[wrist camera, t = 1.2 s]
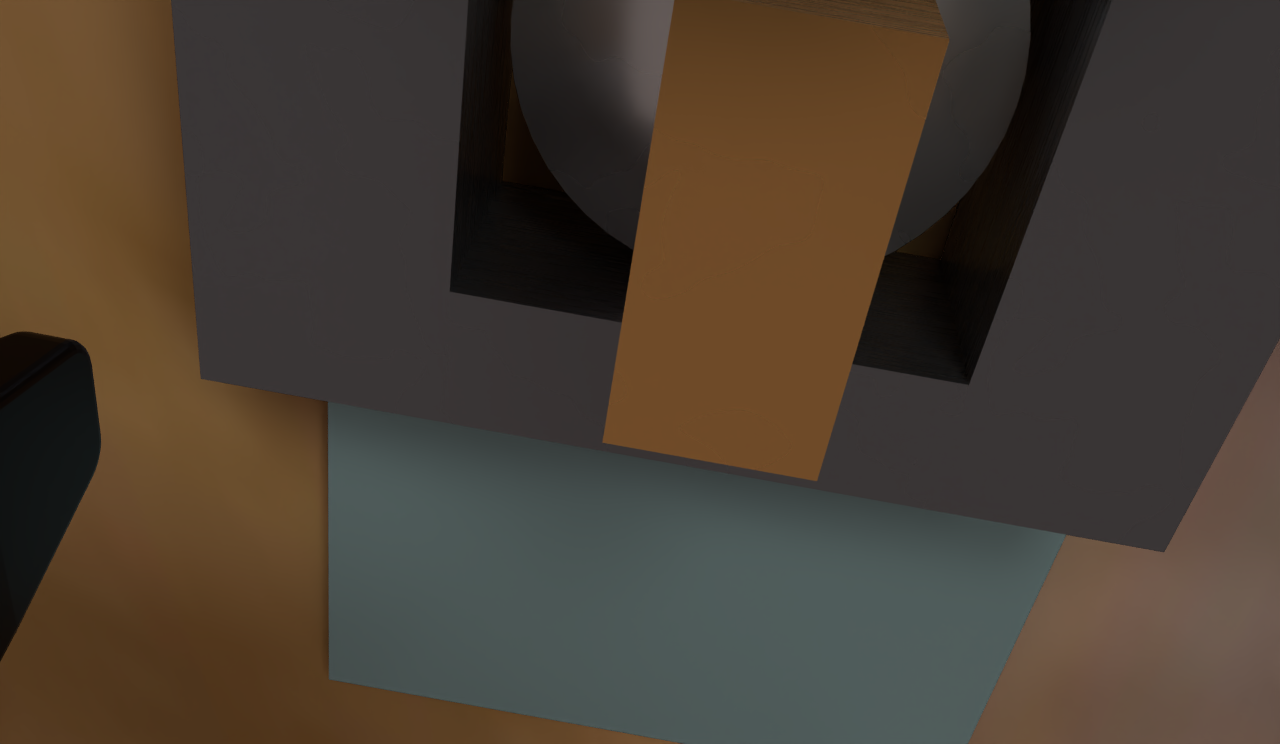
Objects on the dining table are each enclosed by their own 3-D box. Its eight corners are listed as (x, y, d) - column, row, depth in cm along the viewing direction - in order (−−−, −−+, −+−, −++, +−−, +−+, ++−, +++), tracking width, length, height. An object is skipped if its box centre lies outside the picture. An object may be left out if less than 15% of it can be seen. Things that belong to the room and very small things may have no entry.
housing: (1477, -390, 15) (1667, -381, 12) (1109, 410, 23) (1164, 552, 19) (262, -605, 15) (120, -656, 12) (286, 262, 23) (200, 378, 19)
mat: (1089, 450, 23) (1096, 470, 23) (942, 770, 29) (945, 791, 28) (337, 315, 23) (327, 331, 23) (336, 660, 29) (329, 679, 28)
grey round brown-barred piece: (1064, -206, 17) (1281, -40, 10) (924, 234, 21) (1000, 590, 14) (572, -294, 17) (407, -197, 10) (526, 162, 21) (385, 480, 14)
